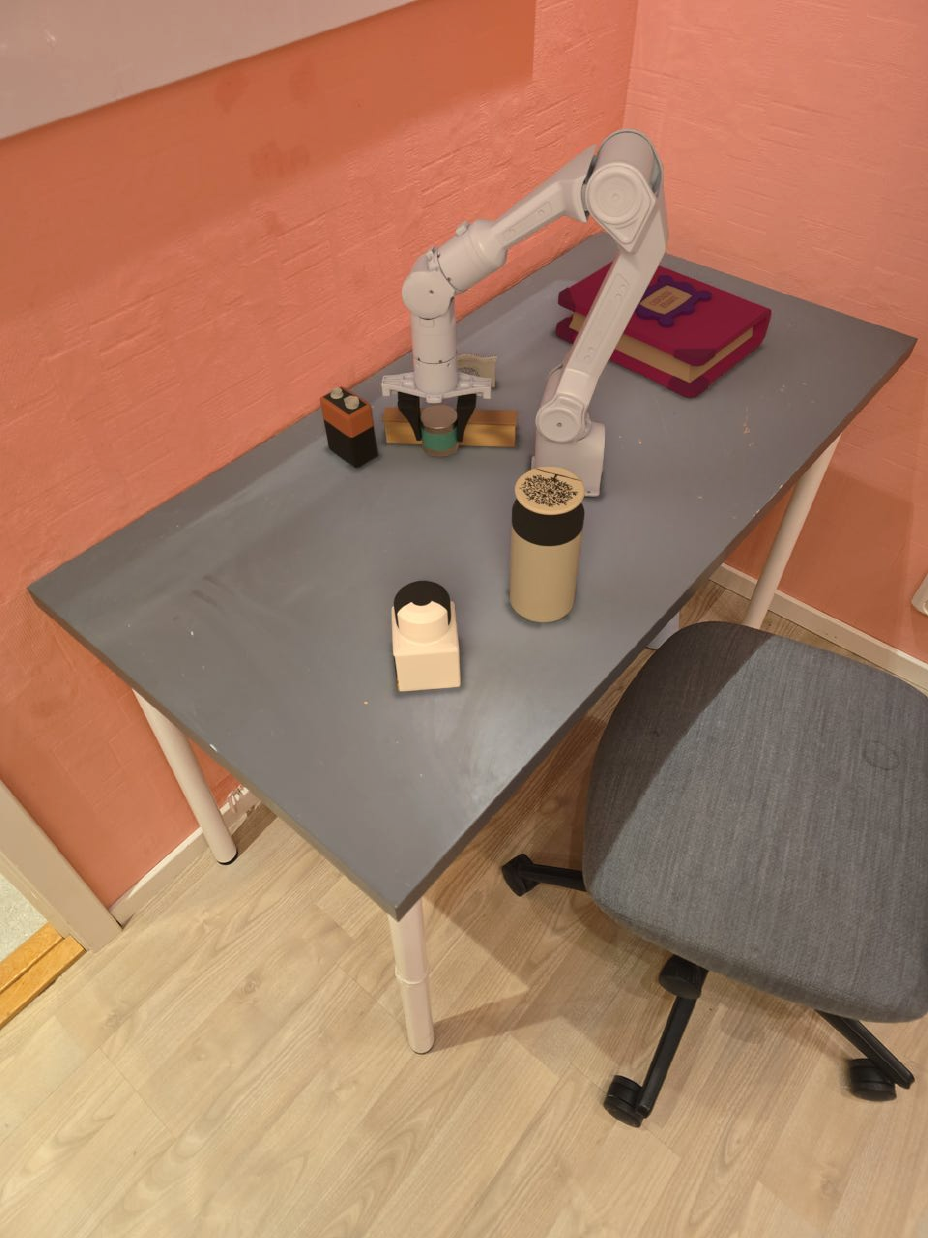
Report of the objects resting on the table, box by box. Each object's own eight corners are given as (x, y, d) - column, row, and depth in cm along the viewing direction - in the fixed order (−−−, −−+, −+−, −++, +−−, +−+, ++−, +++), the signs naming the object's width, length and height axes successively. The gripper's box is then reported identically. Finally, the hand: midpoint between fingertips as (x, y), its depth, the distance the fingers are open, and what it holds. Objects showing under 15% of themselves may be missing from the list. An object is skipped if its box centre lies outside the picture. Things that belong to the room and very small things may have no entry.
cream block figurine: (396, 643, 100) (386, 575, 91) (456, 639, 100) (452, 569, 91) (398, 693, 95) (388, 625, 86) (461, 687, 95) (458, 620, 86)
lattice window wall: (420, 391, 132) (418, 358, 128) (420, 385, 133) (418, 352, 129) (496, 388, 132) (496, 355, 128) (496, 382, 133) (496, 349, 129)
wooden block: (517, 428, 126) (518, 404, 122) (516, 448, 123) (516, 423, 119) (389, 425, 127) (386, 400, 124) (384, 444, 124) (381, 419, 121)
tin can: (460, 434, 120) (459, 405, 117) (457, 457, 117) (456, 428, 113) (424, 433, 121) (421, 404, 117) (420, 456, 117) (417, 427, 114)
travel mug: (555, 633, 100) (565, 523, 86) (497, 607, 103) (498, 497, 89) (585, 590, 104) (599, 479, 91) (529, 567, 107) (535, 455, 94)
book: (627, 286, 151) (632, 244, 146) (764, 343, 139) (776, 300, 133) (551, 334, 142) (554, 291, 136) (691, 400, 129) (701, 356, 123)
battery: (356, 470, 120) (347, 412, 113) (327, 449, 124) (316, 391, 116) (379, 456, 122) (372, 398, 115) (350, 436, 125) (341, 378, 118)
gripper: (374, 367, 105) (384, 453, 116) (489, 370, 104) (489, 457, 115) (382, 337, 110) (391, 422, 120) (492, 339, 109) (492, 425, 119)
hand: (439, 437), depth 118 cm, fingers closed on tin can, 5 cm apart
